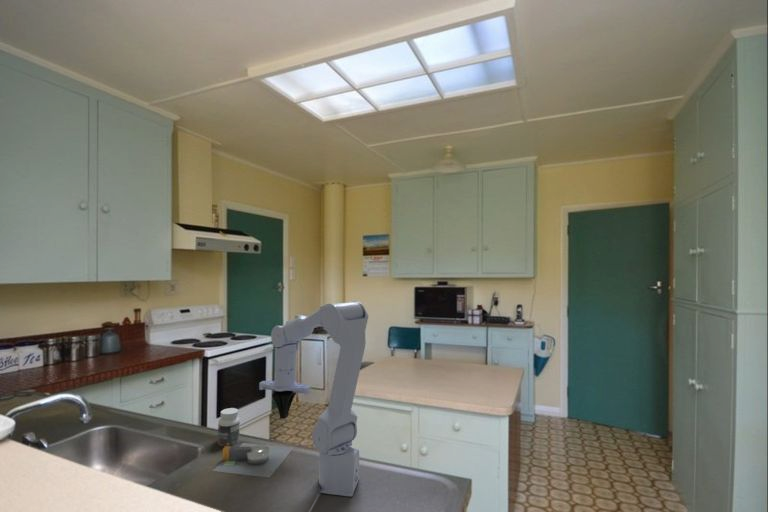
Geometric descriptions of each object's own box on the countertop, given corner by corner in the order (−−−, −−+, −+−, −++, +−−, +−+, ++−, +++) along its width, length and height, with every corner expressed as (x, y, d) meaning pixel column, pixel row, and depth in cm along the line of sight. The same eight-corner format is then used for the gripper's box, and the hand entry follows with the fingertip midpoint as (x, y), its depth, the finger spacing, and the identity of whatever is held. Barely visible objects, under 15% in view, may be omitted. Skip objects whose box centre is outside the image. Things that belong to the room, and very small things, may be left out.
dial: (265, 465, 99) (265, 453, 99) (219, 465, 99) (219, 452, 99) (271, 454, 105) (271, 443, 105) (227, 453, 105) (228, 442, 105)
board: (293, 452, 109) (293, 447, 109) (269, 482, 94) (269, 477, 94) (243, 447, 111) (243, 442, 111) (212, 475, 97) (212, 470, 97)
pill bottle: (213, 447, 111) (214, 412, 111) (229, 439, 116) (230, 405, 116) (227, 452, 108) (228, 416, 108) (243, 443, 113) (244, 409, 113)
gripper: (253, 370, 106) (252, 420, 106) (303, 374, 103) (302, 426, 103) (267, 363, 113) (265, 410, 113) (314, 367, 110) (312, 415, 110)
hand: (284, 417), depth 108 cm, fingers closed
